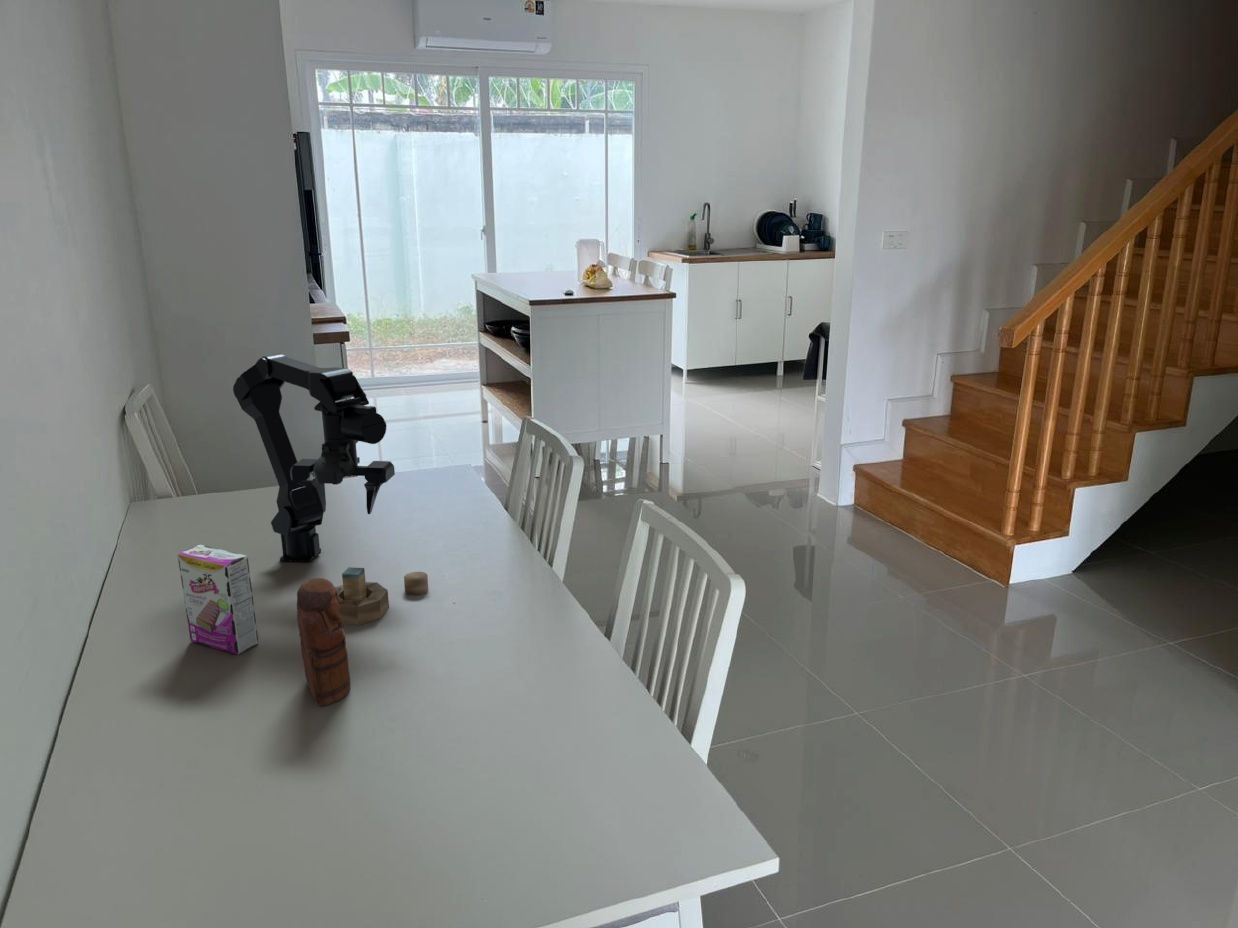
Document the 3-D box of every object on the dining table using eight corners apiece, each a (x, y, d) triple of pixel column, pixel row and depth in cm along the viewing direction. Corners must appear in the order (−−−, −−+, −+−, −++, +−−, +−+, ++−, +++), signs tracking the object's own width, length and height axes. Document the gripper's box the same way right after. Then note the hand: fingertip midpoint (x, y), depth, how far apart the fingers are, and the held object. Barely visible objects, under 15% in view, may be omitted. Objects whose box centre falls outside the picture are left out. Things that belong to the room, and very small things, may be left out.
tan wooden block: (345, 614, 170) (341, 573, 168) (352, 607, 173) (348, 567, 171) (361, 615, 170) (358, 574, 168) (367, 608, 173) (364, 567, 170)
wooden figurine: (356, 700, 143) (346, 591, 137) (313, 710, 140) (301, 599, 135) (341, 665, 153) (331, 562, 147) (300, 674, 150) (289, 569, 145)
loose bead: (401, 595, 178) (400, 580, 177) (408, 585, 182) (407, 571, 182) (424, 595, 178) (423, 581, 177) (431, 586, 182) (430, 572, 181)
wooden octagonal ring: (317, 623, 167) (316, 605, 166) (340, 597, 177) (338, 580, 176) (375, 625, 166) (373, 607, 165) (394, 600, 176) (393, 583, 175)
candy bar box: (188, 643, 160) (175, 553, 155) (211, 630, 164) (199, 543, 159) (237, 656, 155) (225, 564, 151) (260, 643, 160) (249, 553, 155)
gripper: (273, 445, 172) (282, 525, 177) (372, 448, 170) (379, 529, 175) (298, 430, 183) (306, 506, 187) (392, 432, 181) (398, 509, 186)
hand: (346, 512), depth 183 cm, fingers open, 9 cm apart
